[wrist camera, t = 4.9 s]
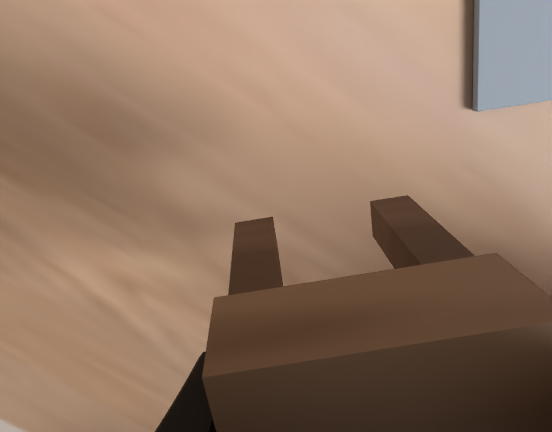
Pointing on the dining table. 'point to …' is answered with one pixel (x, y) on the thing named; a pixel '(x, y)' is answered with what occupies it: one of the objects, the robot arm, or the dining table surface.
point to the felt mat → (512, 53)
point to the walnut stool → (380, 339)
